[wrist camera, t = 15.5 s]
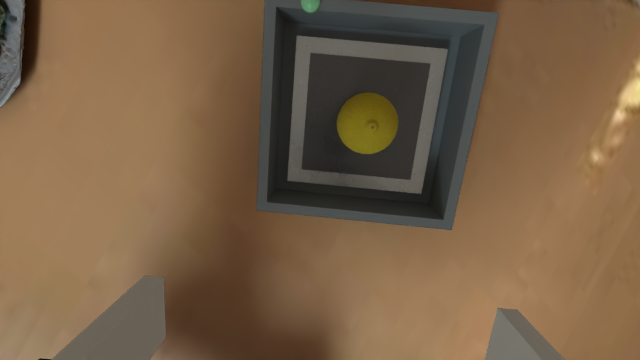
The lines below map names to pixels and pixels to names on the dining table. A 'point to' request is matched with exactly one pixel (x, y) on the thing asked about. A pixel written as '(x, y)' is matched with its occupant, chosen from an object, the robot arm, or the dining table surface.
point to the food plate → (11, 46)
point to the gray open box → (450, 122)
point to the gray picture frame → (352, 79)
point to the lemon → (367, 123)
